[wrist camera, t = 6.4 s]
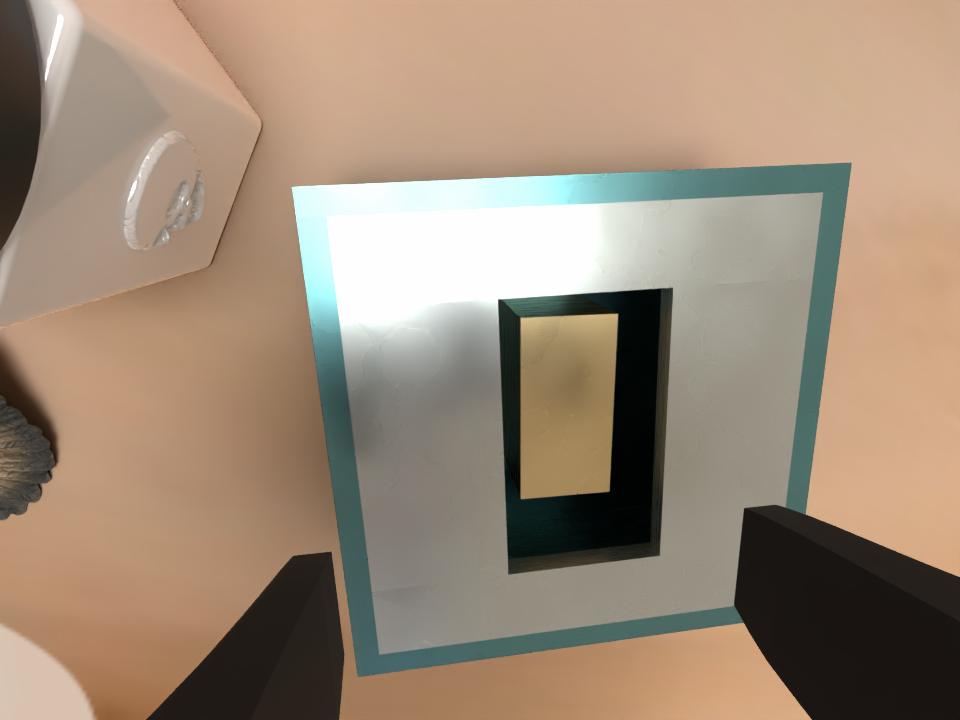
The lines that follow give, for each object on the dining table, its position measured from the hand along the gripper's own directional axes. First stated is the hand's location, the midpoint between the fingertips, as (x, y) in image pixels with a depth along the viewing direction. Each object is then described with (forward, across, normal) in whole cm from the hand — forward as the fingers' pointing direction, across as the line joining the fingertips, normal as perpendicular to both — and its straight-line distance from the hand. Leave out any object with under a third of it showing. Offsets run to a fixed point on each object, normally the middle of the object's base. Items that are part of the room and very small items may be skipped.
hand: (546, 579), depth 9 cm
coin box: (+10, -2, -1) cm, 10 cm away
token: (+9, -2, -1) cm, 9 cm away
